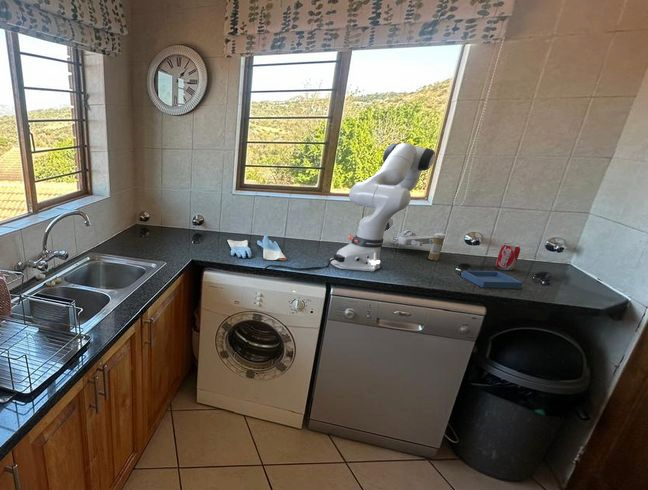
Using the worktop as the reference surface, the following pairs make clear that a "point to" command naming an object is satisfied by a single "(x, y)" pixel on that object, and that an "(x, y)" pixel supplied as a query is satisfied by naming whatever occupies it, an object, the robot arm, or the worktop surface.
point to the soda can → (508, 256)
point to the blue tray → (491, 279)
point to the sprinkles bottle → (436, 246)
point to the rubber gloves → (269, 248)
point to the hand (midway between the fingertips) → (428, 243)
